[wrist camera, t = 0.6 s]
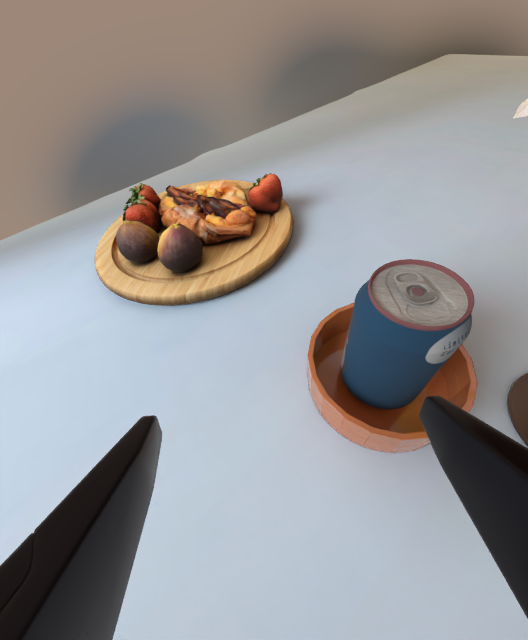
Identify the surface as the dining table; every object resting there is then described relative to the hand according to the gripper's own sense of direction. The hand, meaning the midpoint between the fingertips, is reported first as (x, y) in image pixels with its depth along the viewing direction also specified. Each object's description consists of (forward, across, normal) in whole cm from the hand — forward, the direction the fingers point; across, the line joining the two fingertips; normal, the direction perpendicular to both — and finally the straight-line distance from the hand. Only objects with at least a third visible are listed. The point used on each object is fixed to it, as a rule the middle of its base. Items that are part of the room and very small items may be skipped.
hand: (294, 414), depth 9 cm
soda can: (+12, -10, +11) cm, 19 cm away
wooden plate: (+40, +9, +3) cm, 41 cm away
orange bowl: (+12, -10, +11) cm, 19 cm away
